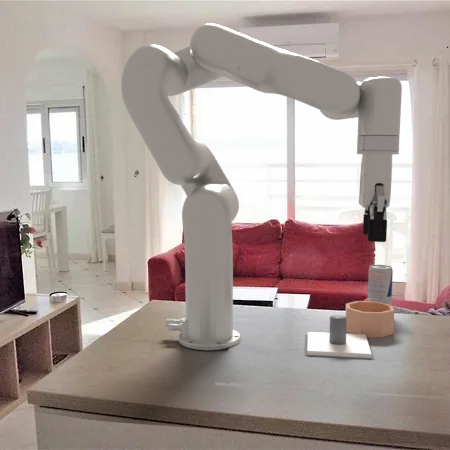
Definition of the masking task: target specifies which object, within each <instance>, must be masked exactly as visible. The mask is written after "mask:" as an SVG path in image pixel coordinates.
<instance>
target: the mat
mask: <svg viewBox="0 0 450 450" xmlns="http://www.w3.org/2000/svg"><path fill="white" fill-rule="evenodd" d="M304 338H305V340H304V357H320V358H321V357H322V358H338V359H339V358H341V359H359V360H373V361H374V360H375V357H374V354H373V351H372V347H371V344H370V340H369V337H366V338H367V341H368V344H369V348H370V351H371V358H358V357H339V356H320V355H307V345H308V334H305V337H304Z"/></svg>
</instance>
